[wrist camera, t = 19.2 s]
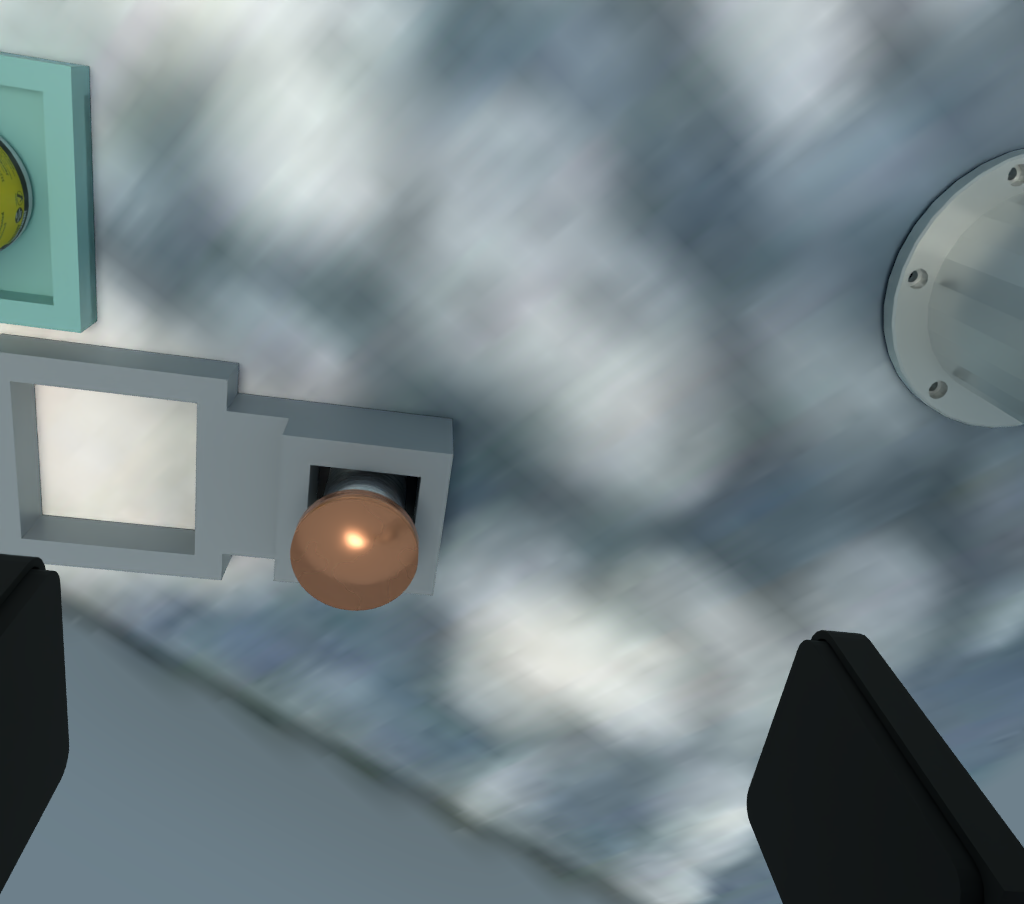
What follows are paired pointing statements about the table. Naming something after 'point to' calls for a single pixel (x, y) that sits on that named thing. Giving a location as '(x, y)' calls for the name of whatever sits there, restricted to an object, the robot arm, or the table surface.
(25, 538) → the housing
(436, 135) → the table surface
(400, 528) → the plunger
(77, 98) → the tray
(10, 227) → the supplement bottle
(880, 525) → the table surface
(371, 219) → the table surface
